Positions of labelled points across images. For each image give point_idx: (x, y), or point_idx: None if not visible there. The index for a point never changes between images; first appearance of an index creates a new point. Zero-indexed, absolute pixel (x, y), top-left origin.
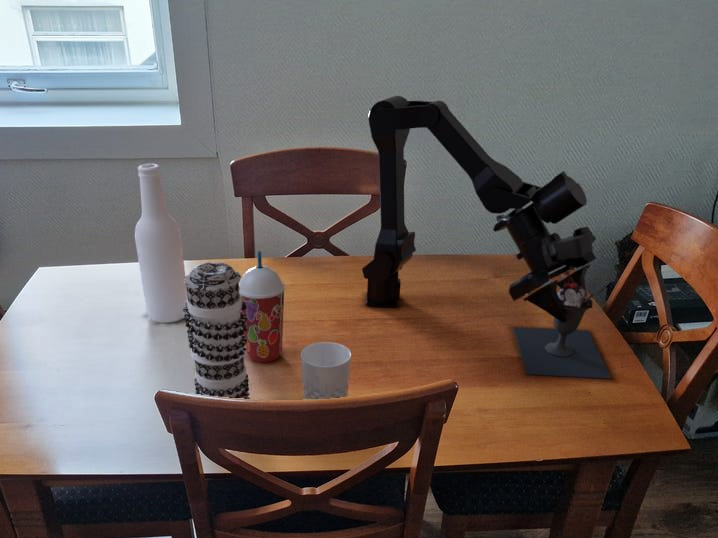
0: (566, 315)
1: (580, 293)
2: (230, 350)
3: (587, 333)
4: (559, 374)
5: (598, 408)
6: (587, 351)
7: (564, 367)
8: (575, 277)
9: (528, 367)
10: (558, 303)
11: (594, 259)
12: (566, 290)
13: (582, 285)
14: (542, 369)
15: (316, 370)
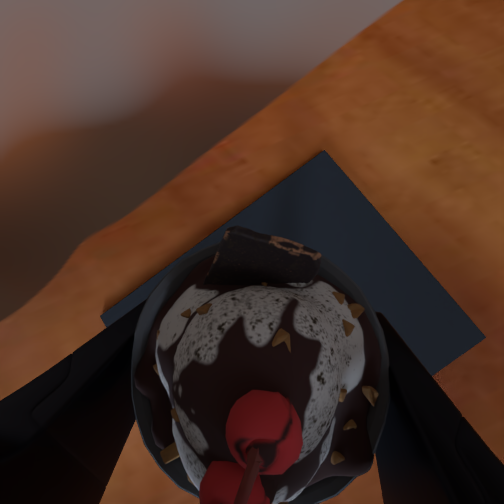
0: (381, 326)
1: (292, 314)
2: None
3: (119, 308)
4: (411, 261)
5: (494, 110)
6: None
7: (360, 269)
8: (6, 500)
9: (444, 354)
10: (454, 416)
11: None
12: (301, 455)
13: (63, 388)
14: (422, 313)
15: None
